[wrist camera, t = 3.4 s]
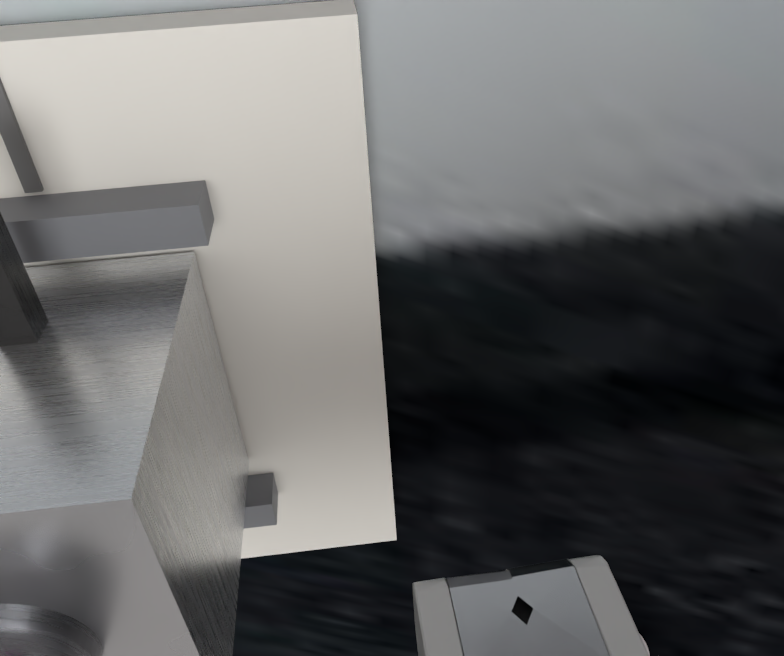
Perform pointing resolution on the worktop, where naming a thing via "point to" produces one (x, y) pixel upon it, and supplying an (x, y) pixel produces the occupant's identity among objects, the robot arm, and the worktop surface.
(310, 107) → the gauge board
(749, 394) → the worktop surface
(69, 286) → the metal box with knob
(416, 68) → the worktop surface
